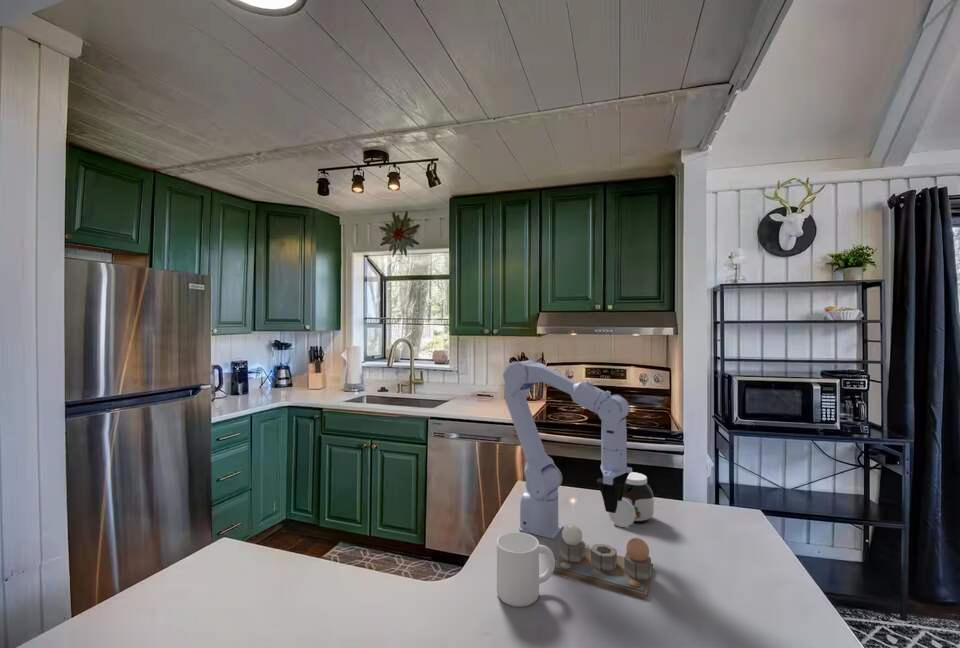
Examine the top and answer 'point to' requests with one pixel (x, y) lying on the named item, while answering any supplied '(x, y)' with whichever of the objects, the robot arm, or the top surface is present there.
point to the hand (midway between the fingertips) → (614, 505)
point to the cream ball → (572, 534)
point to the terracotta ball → (637, 550)
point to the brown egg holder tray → (604, 568)
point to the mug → (520, 568)
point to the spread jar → (634, 502)
